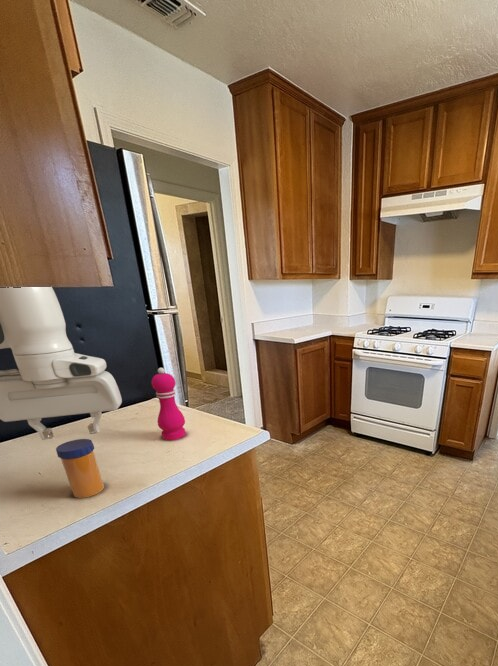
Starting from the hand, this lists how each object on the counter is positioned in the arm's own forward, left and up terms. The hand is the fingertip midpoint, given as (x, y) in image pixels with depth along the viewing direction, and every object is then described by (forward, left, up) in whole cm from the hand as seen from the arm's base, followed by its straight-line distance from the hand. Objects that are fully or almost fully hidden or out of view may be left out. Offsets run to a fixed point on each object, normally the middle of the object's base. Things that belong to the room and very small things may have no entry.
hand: (72, 435), depth 70 cm
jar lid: (0, 0, -2) cm, 2 cm away
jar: (0, 0, -13) cm, 13 cm away
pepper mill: (+15, +26, -13) cm, 33 cm away
